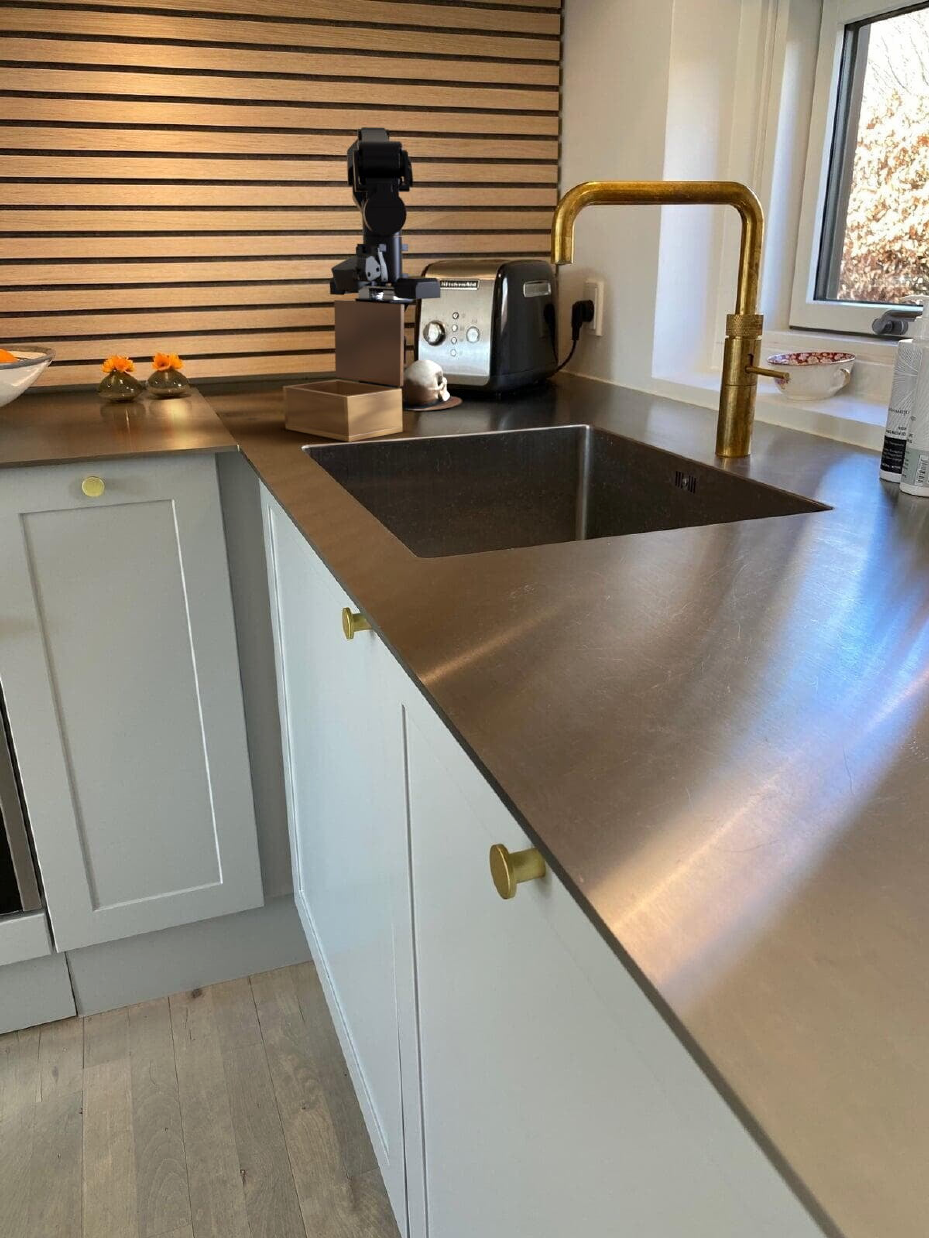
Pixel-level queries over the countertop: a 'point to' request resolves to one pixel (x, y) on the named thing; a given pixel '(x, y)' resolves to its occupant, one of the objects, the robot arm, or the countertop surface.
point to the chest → (343, 409)
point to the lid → (369, 341)
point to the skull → (425, 387)
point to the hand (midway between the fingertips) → (385, 346)
